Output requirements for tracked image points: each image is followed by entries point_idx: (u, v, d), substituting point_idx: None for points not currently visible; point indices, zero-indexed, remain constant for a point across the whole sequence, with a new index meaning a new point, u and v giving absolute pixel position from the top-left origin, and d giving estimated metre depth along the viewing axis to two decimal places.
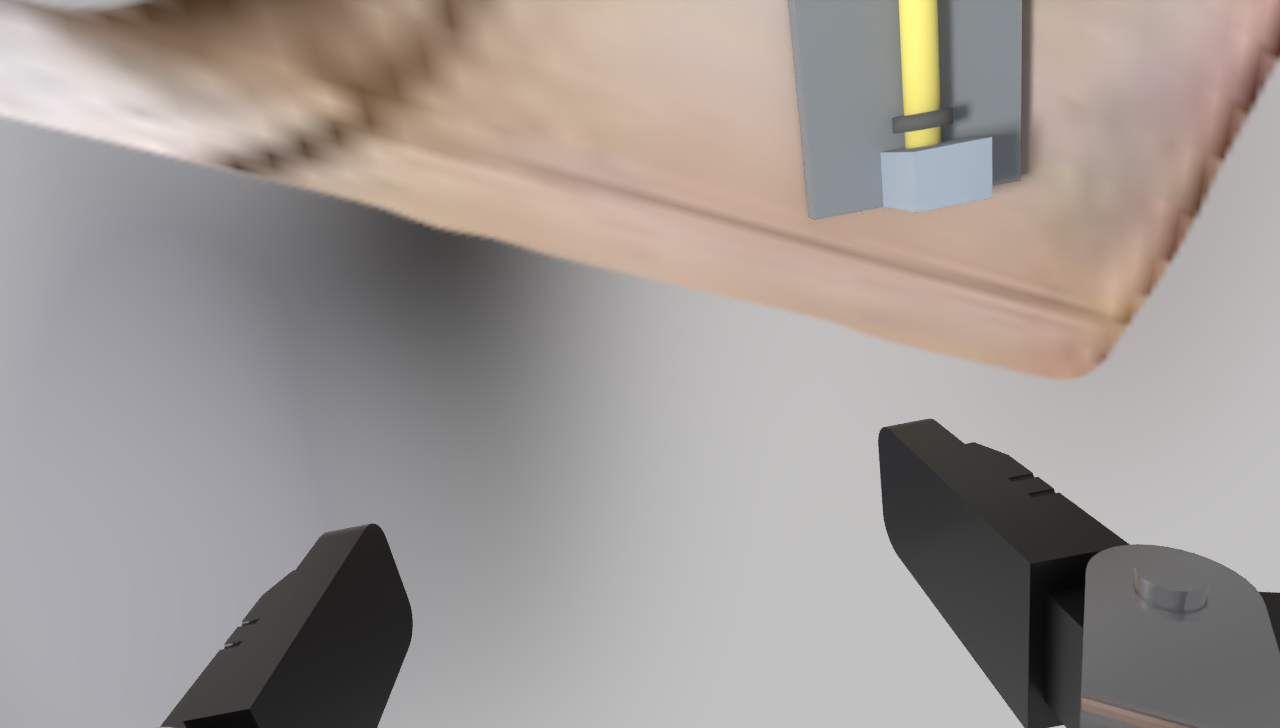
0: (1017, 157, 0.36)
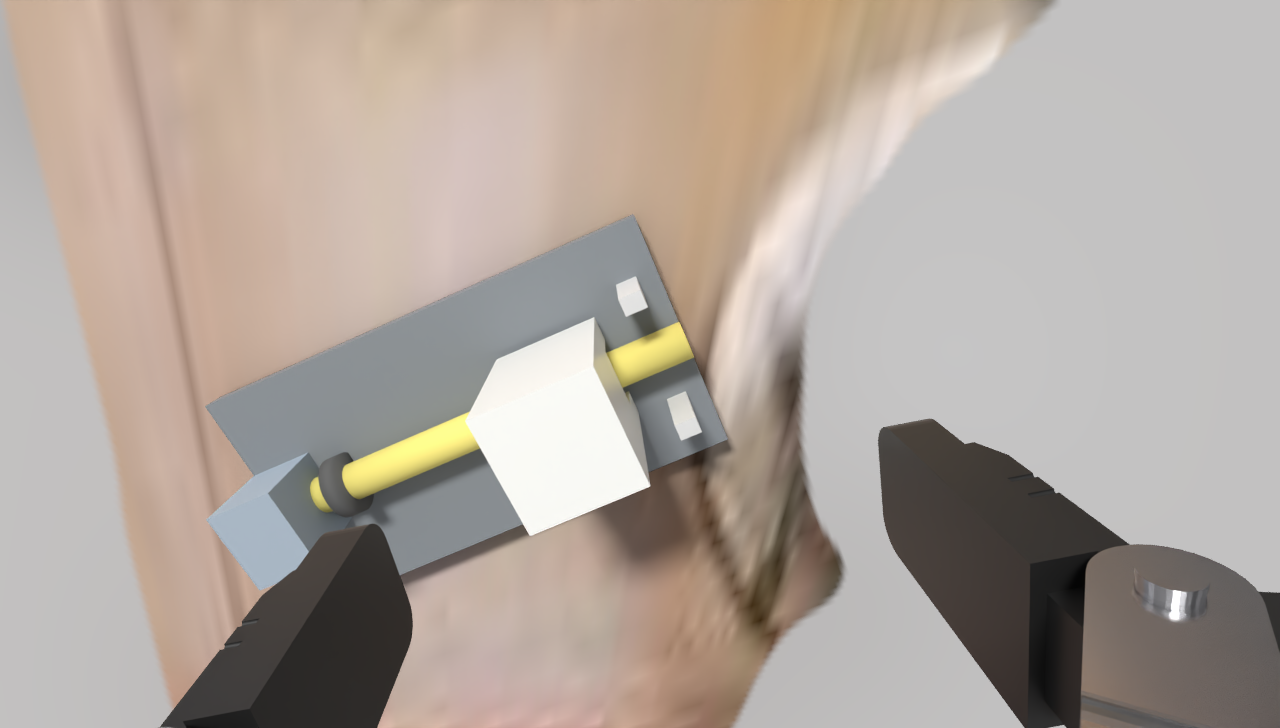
0: None
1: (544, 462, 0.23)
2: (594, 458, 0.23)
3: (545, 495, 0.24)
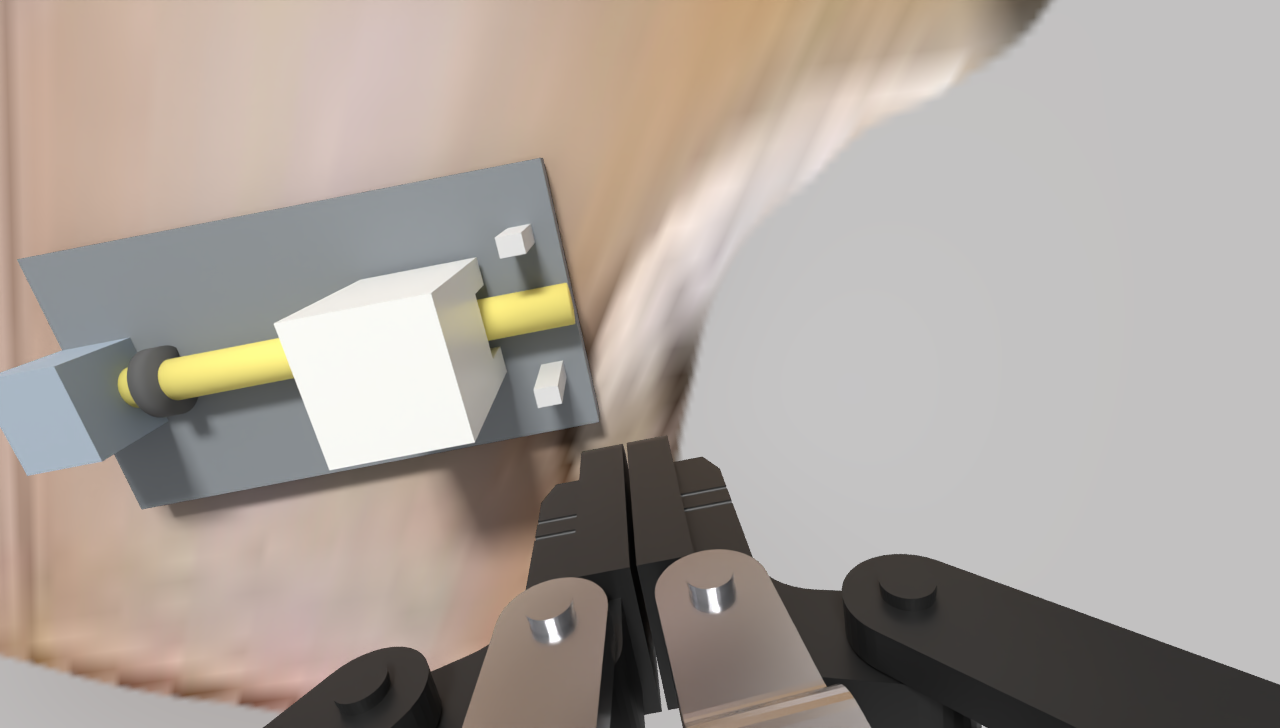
0: (167, 500, 0.30)
1: (358, 390, 0.21)
2: (416, 397, 0.21)
3: (354, 428, 0.21)
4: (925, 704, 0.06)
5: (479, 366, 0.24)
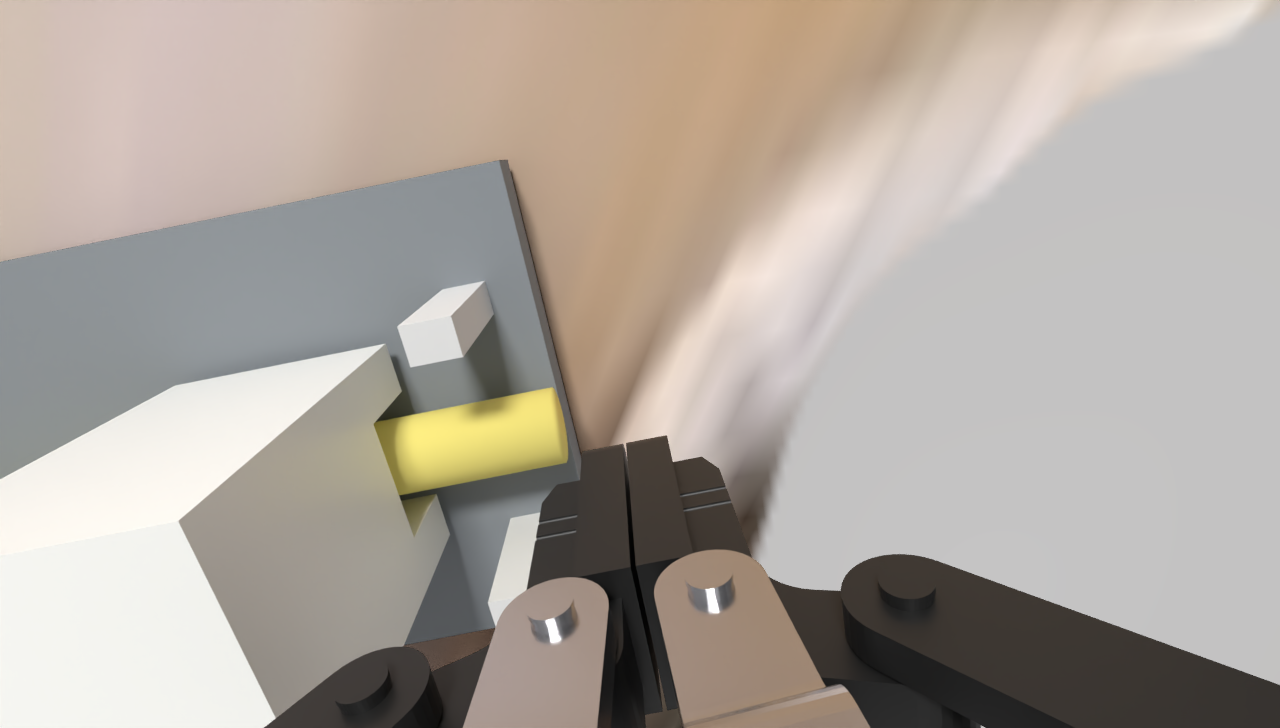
0: None
1: None
2: None
3: None
4: (924, 704, 0.06)
5: (369, 588, 0.12)
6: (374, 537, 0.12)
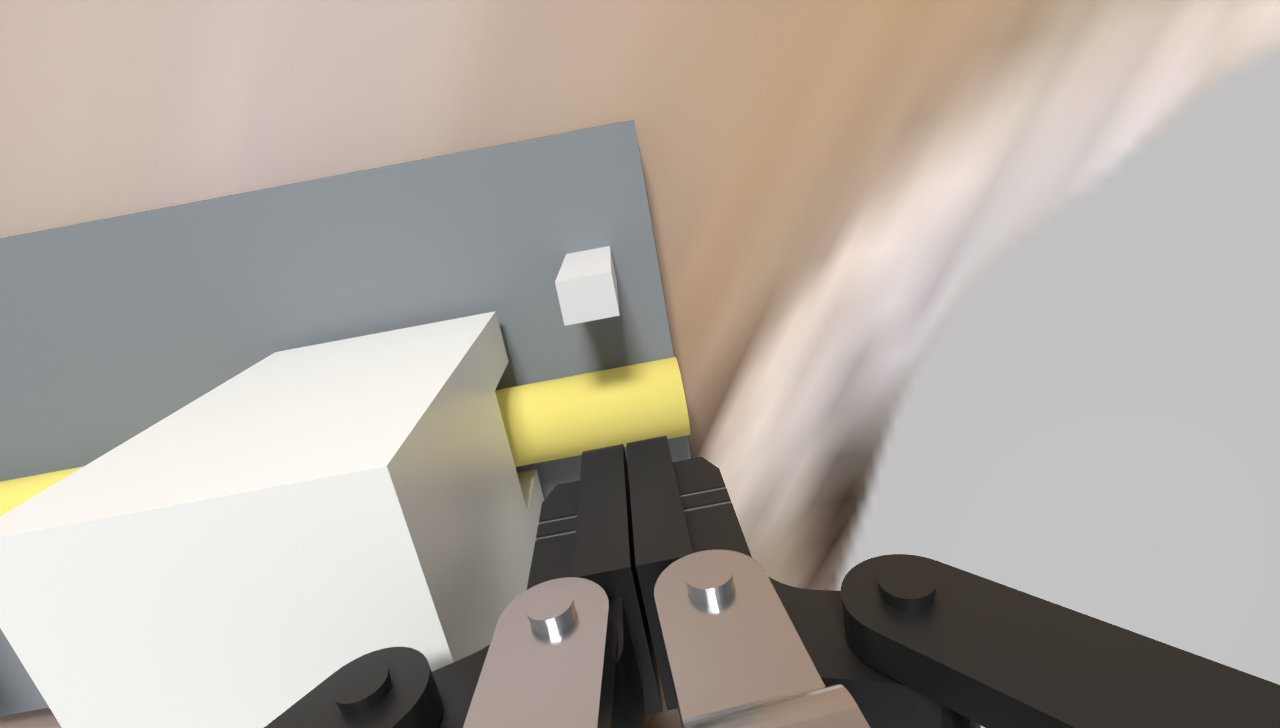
0: None
1: (202, 697, 0.08)
2: None
3: None
4: (924, 704, 0.06)
5: (505, 557, 0.11)
6: (504, 506, 0.12)
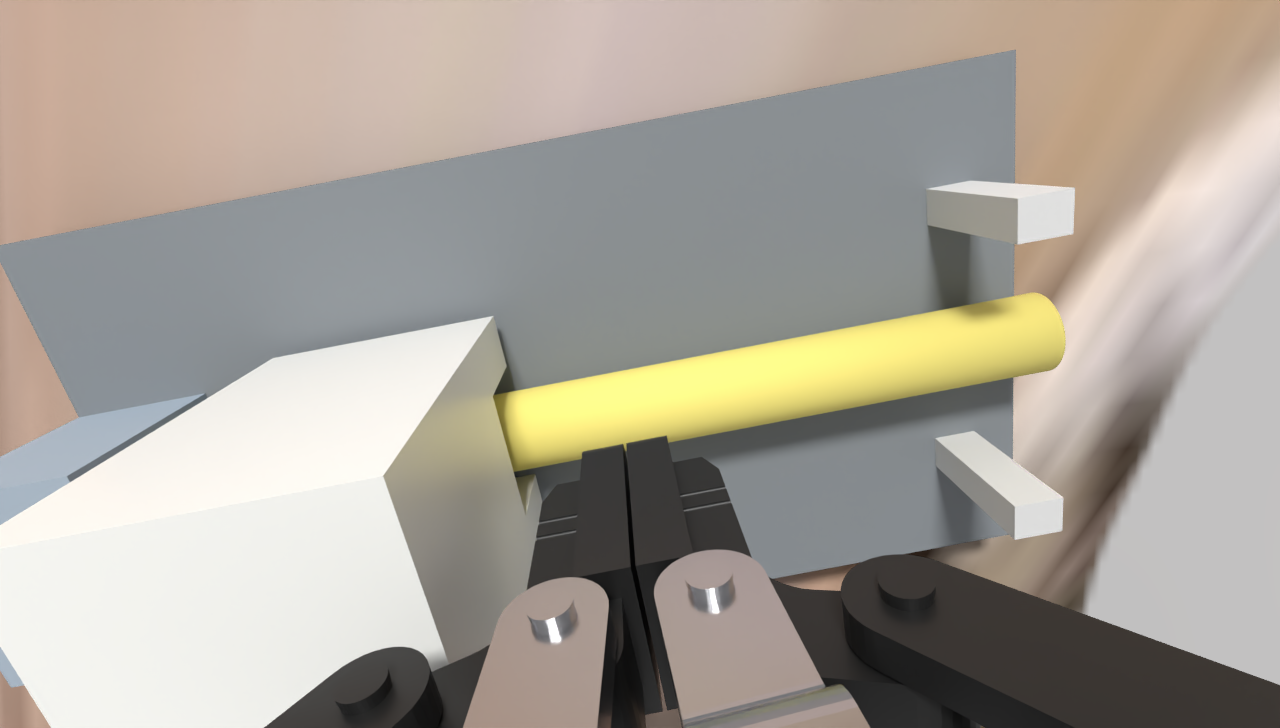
0: None
1: (199, 709, 0.08)
2: None
3: None
4: (924, 704, 0.06)
5: (504, 564, 0.11)
6: (502, 512, 0.12)
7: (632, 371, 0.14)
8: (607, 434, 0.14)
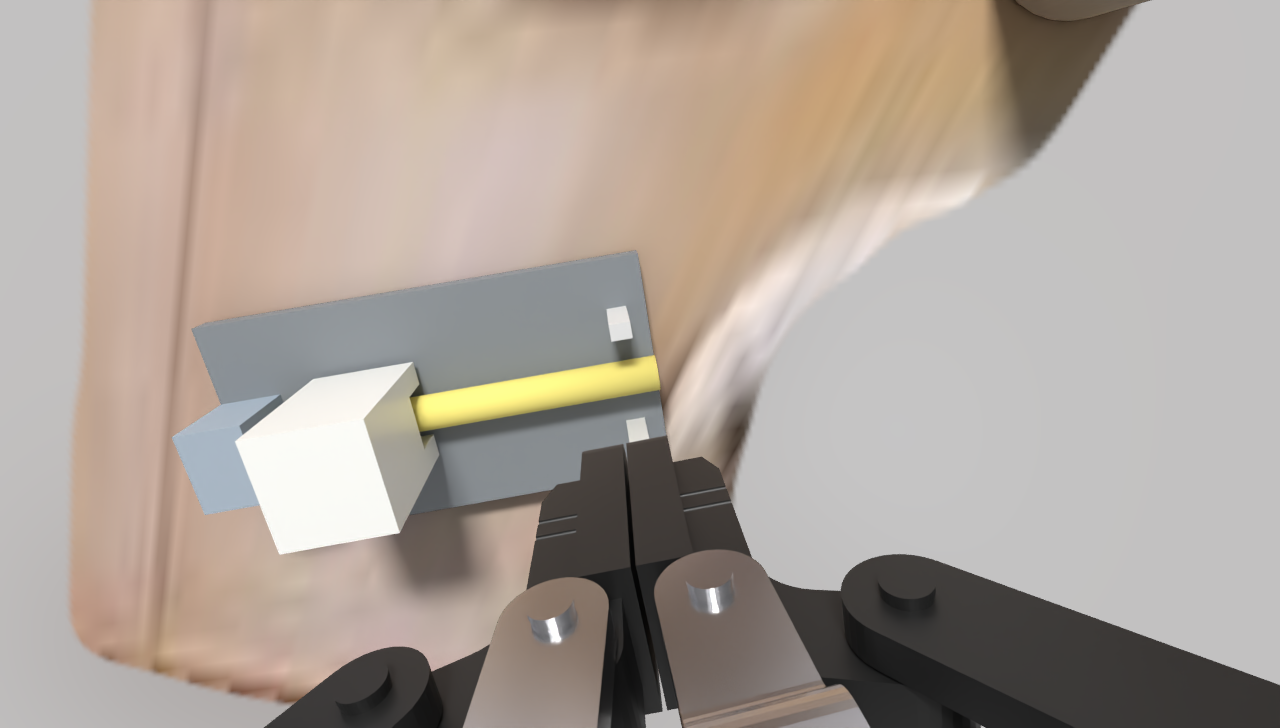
0: None
1: (303, 492, 0.25)
2: (351, 498, 0.26)
3: (300, 521, 0.26)
4: (924, 704, 0.06)
5: (409, 462, 0.29)
6: (410, 443, 0.29)
7: (474, 387, 0.32)
8: (461, 414, 0.31)
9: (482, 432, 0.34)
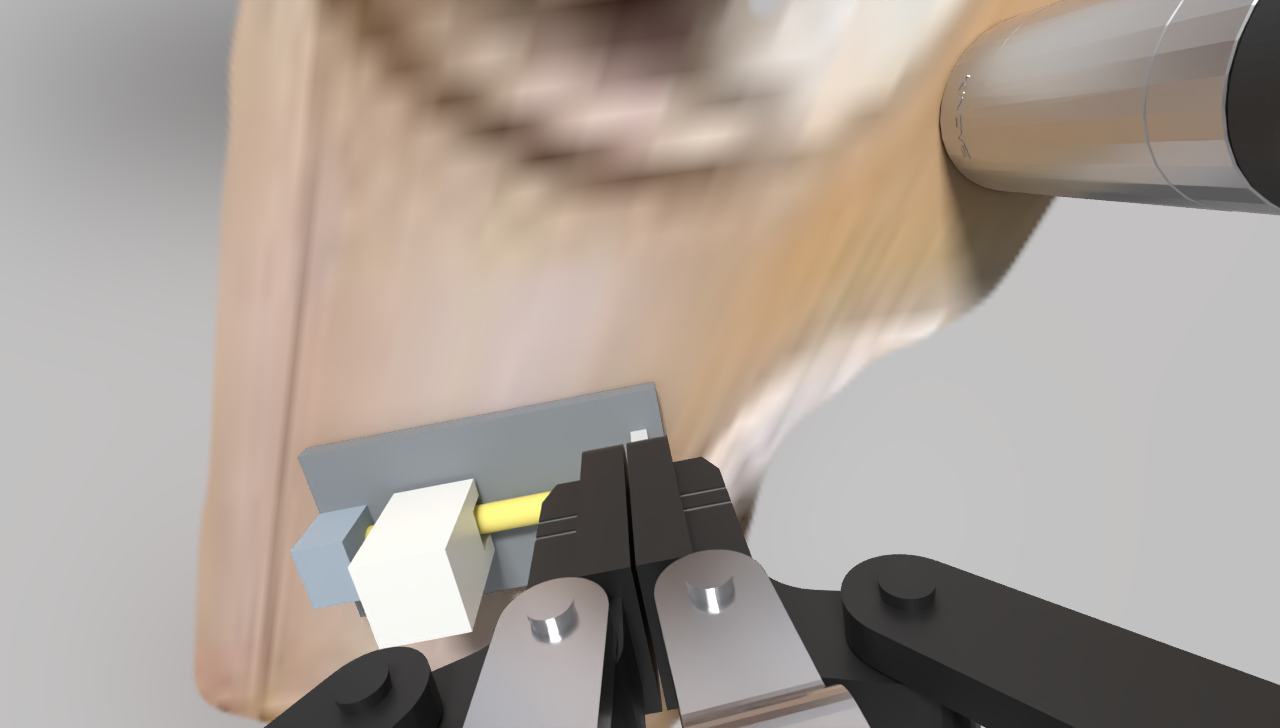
0: None
1: (398, 603, 0.33)
2: (435, 607, 0.33)
3: (396, 625, 0.33)
4: (924, 704, 0.06)
5: (475, 568, 0.36)
6: (475, 551, 0.37)
7: (523, 498, 0.39)
8: (513, 522, 0.38)
9: (529, 530, 0.41)
